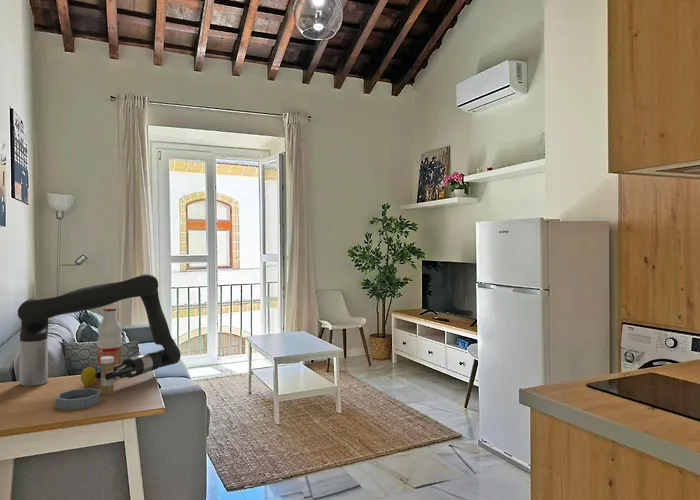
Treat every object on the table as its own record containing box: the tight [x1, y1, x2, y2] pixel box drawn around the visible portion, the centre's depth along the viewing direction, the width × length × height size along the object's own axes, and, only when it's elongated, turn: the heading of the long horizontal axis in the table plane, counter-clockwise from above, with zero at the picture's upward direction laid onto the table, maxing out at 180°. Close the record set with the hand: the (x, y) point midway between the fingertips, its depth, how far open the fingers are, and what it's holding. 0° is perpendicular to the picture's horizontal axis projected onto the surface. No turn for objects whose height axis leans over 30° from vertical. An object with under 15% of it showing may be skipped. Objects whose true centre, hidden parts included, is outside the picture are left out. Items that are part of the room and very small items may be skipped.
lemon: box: [80, 366, 98, 388], centre depth 198 cm, size 6×6×8 cm
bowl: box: [55, 387, 101, 411], centre depth 179 cm, size 13×13×3 cm
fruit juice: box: [96, 306, 124, 372], centre depth 215 cm, size 9×9×28 cm
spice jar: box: [100, 356, 115, 396], centre depth 190 cm, size 5×5×14 cm
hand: (101, 376), depth 188 cm, fingers closed on spice jar, 4 cm apart
